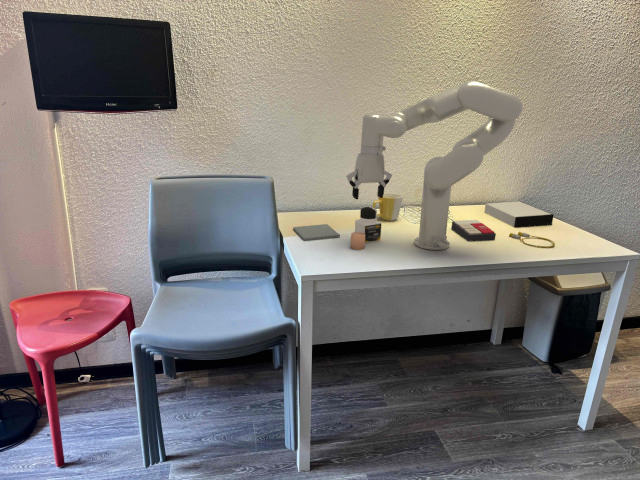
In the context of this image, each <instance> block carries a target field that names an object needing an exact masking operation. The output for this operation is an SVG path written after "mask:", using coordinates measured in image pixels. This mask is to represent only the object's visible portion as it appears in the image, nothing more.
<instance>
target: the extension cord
mask: <svg viewBox="0 0 640 480" xmlns="http://www.w3.org/2000/svg"><path fill="white" fill-rule="evenodd" d="M509 238H512V239H515V240H519V241H520V243H523V245H526V246H529V247H532V248H538V249H539V248H540V249H552V248H554V247H555V244H556V243H555V242H554V241H553V240H552V239H549V238H546V237H541V236H536V235H531V234H529V233H526V232H521V231H518V233H517V234H516V233H513V232H510V233H509ZM531 238H535V239H538V240H544V241H546V242H549V243H551V244H552V245H549V246H548V245H546V246H545V245H543V246H542V245H535V244H530V243H526V242H525V241H524V240H526V239H528V240H529V239H531Z"/></svg>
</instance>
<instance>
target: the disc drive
mask: <svg viewBox="0 0 640 480" xmlns="http://www.w3.org/2000/svg"><path fill="white" fill-rule="evenodd" d="M483 213H485V214H487V215H488V214H489V216H491V217H492V218H494V219H497V220H499V221H501V222H502V223H505V224H507V225H508V226H511V227H513V228H515V229H518V228H530V227H532V228H533V227H546V226H552V225H553V222H554V216H555V215H554V213H553V214H552V213H549V212H546V211H543V210H541V209H539V208H536V207H534V206H532V205H529V204H526V203H523V202H521V201H520V200H519V201H506V202H505V201H504V202H491V203H489V202H488V203H485V205H484V212H483Z"/></svg>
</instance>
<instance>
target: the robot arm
mask: <svg viewBox="0 0 640 480" xmlns="http://www.w3.org/2000/svg"><path fill="white" fill-rule="evenodd" d="M468 110H470V111H473V112H475V113H478V114H480V115H482V116H485V117H488V119H487V120H486V121H485V122H484V124H482V125H480V126H479V127H478V128H476V130H473V132H471V133H469V134H468V135H467V136H465V137H464V138H462V139H461V140H458V141H457V142H456V143H455V144H454V145H453V147H452V150H451V151H450V152H448V153H447V154H445V155H444V156H435V157H432V158H430V160H428V162H426V164H425V166H424V172H423V185H422V186H423V187H422V196H421V197H422V198H421V208H420V218H419V231H418V236H417V237H415V238H414V240H413V244H414V245H415V246H416V247H418V248H421V249H423V250H431V251H440V250H441V251H442V250H446V249H448V248H449V247H450V244H451V242H450V241H449V240H448V236H447V228H448V222H449V221H448V219H449V210H450V204H451V203H450V202H451V192H452V187H453V186H454V185H455V184H456V183H458V182H460V181H462V180H463V179H464V178H466V177H467V176H469V175H471V174H472V173H473V172H475V171H476V170H477V169H478V168H479V167H480V166H481V165H482V163H483V161H484V156H485V155H487V154H488V153H490V152H491V151H493V150H494V149H495V148H496V147H498V146H499V145H501V144H502V143H503V142H505V140H506V139H508V137H509V136H510V134H511V133H512V131H513V129H514V126H515V123H516V122H517V121H516V120H517V119H518V118H520V116H521V114H522V111H523V102H522V100H521V98H520V97H518V96H517V95H515V94H514V93H510V92H507V91H505V90H504V91H503V90H502V89H499V88H495V87H492V86H490V85H488V84H486V83H483V82H480V81H477V80H468V81H465V82H463V83H460V84H458V85H455V86H453V87H451V88H449V89H446V90H445V91H441V92H439V93H437V94H434V95H432V96H429V97H428V98H426V99H424V100H422V101H420V102H417V103H416V104H415V103H414V104H413V105H410V106H408V107H406V108H403V109H400V110H398V111H396V112H394V113H392V114H390V115H383V114H381V113H366V114H363V117H362V122H361V123H362V125H361V126H362V127H361V137H360V138H361V140H360V153H357V156H356V160H355V165H354V171H352V172H350V173H348V174H347V175H346V180H347V181H348V183H349V184H350V186H351V187H352V192H351V193H352V198H353V199H355V200H359V195H360V189H359V187H360V186H361V184H372V183H378V186H377V193H376V194H377V195H376V196H377V198H378V197H380V198H383V195H384V193H385V188H386V186H387V185H388V184H389V183H390V180H391V179H392V176H393V174H391V173H390V172H388V171H387V170H385V156H384V154H383V152H385V151H386V146H384V137H386V138H391V139H398V138H400V137H403V135H405V133H406V132H408V131H410V130H412V129H415V128H418V127H420V126H422V125H426V124H431V123H438V122H441V121H443V120H446V119H449V118H451V117H453V116H456V115H458V114H460V113H463V112H466V111H468ZM385 176H386V177H385ZM353 179H354V180H353Z"/></svg>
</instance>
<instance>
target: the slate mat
mask: <svg viewBox="0 0 640 480" xmlns="http://www.w3.org/2000/svg"><path fill="white" fill-rule="evenodd" d="M292 230H293V231H294V232H295V233H296V234H297V236H299V237H300V238H301V240H303V242H309V241H318V240H319V241H320V240H328V239H338V238H341V235H340V233H338V232H337V231H336V230H335V229H333V227H331V226H330V225H329V224H328V223H325V224H323V223H322V224H313V225H302V226H293V229H292Z"/></svg>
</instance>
